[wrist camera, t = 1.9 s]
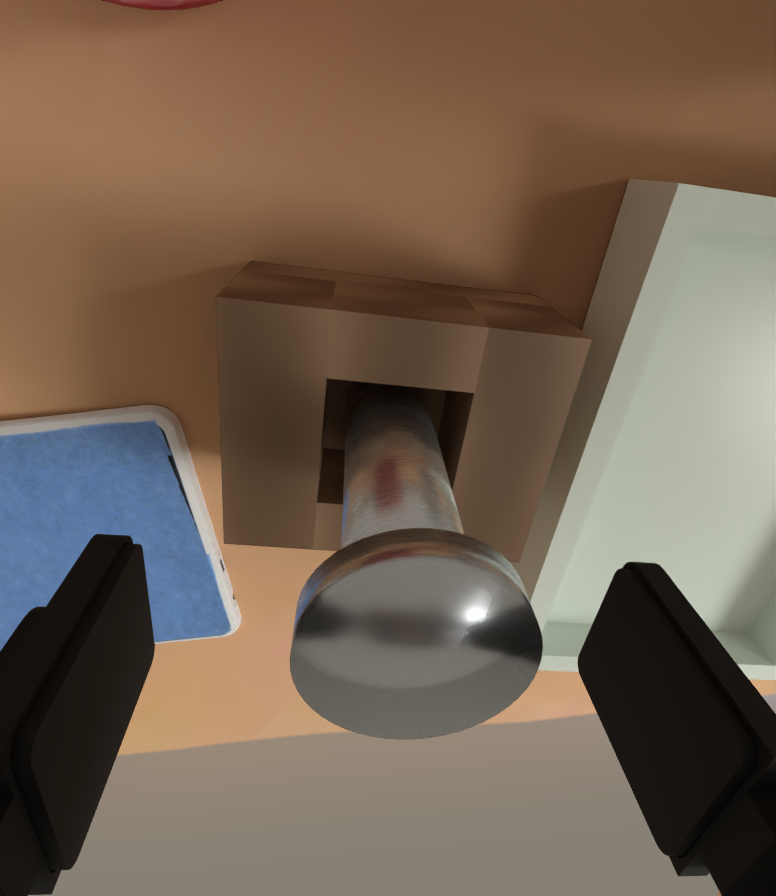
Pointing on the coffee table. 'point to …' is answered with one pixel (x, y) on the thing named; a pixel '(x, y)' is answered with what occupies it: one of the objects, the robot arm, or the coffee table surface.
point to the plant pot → (163, 4)
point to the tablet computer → (110, 515)
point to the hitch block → (394, 363)
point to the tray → (670, 427)
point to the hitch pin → (408, 591)
